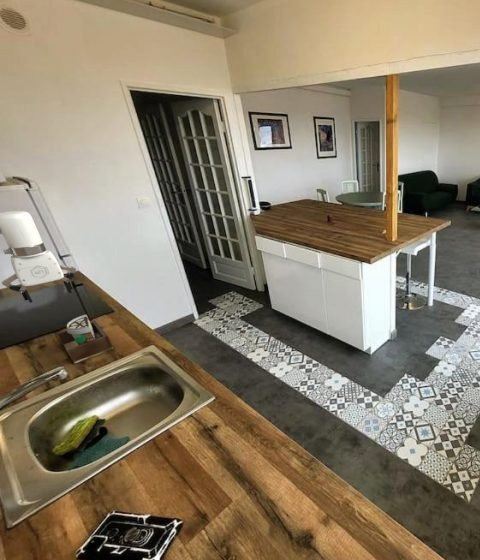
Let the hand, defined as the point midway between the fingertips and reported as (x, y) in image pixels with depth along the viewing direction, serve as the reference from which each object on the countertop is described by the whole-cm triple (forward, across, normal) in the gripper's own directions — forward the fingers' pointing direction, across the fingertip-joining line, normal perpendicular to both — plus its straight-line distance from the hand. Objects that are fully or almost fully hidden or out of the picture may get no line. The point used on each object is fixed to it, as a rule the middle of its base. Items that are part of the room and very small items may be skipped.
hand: (50, 296), depth 108 cm
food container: (+22, +3, -2) cm, 22 cm away
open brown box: (+22, +3, -2) cm, 23 cm away
